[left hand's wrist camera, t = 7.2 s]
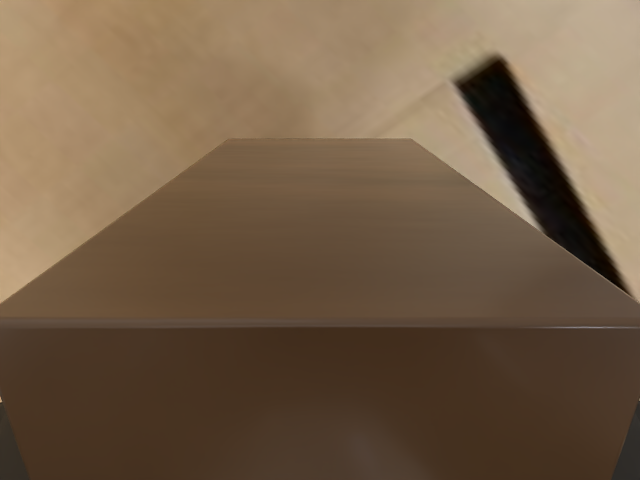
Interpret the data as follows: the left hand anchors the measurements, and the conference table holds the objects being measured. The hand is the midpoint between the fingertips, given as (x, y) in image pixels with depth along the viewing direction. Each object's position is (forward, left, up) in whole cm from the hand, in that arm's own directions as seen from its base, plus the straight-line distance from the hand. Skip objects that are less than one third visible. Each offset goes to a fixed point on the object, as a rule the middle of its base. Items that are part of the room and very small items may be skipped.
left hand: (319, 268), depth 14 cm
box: (0, +8, -2) cm, 8 cm away
